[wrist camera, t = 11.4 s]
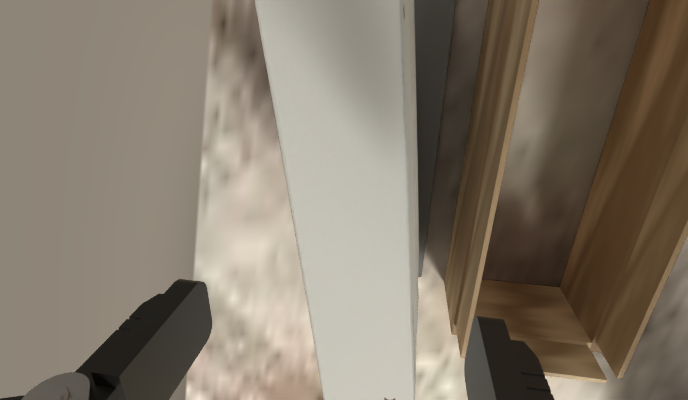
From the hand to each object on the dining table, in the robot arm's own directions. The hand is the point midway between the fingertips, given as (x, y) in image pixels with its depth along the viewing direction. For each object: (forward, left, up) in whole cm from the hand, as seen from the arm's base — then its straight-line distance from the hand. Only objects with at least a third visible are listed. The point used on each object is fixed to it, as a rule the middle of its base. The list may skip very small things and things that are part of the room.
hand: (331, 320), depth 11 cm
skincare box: (0, 0, -21) cm, 21 cm away
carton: (-12, 0, -21) cm, 24 cm away
